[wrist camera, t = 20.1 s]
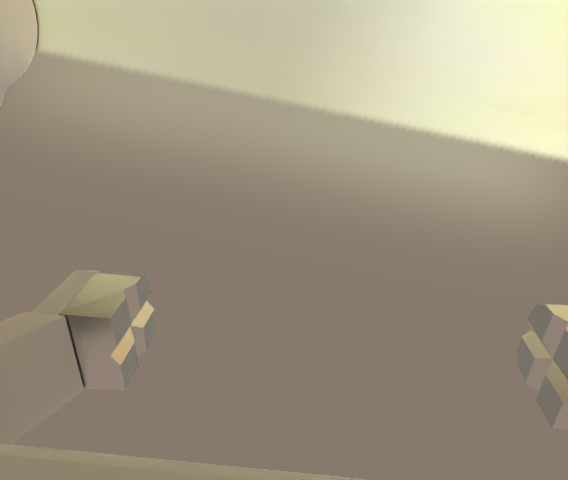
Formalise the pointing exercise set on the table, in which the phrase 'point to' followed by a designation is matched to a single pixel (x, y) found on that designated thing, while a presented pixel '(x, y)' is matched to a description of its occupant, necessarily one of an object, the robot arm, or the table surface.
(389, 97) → the table surface
